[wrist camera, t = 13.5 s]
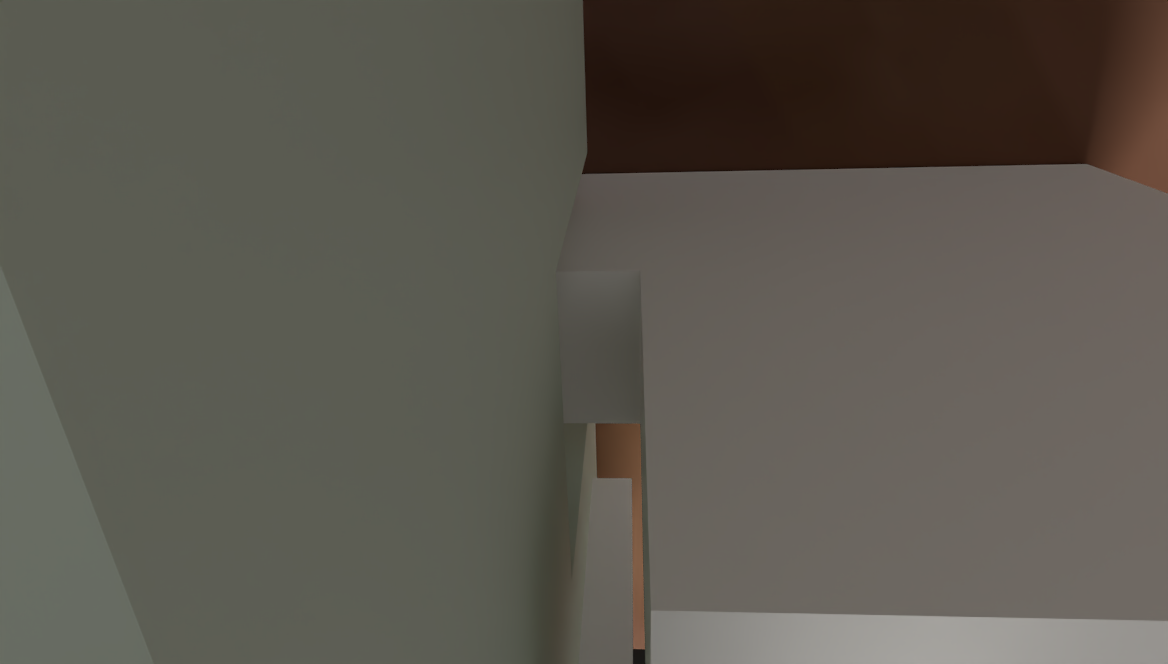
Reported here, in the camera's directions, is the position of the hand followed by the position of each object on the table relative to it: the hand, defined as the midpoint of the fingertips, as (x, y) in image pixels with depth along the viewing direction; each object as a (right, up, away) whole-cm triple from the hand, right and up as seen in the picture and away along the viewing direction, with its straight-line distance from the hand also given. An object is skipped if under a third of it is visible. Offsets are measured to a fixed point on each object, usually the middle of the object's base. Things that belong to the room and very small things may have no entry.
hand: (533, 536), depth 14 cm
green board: (0, +5, -1) cm, 5 cm away
